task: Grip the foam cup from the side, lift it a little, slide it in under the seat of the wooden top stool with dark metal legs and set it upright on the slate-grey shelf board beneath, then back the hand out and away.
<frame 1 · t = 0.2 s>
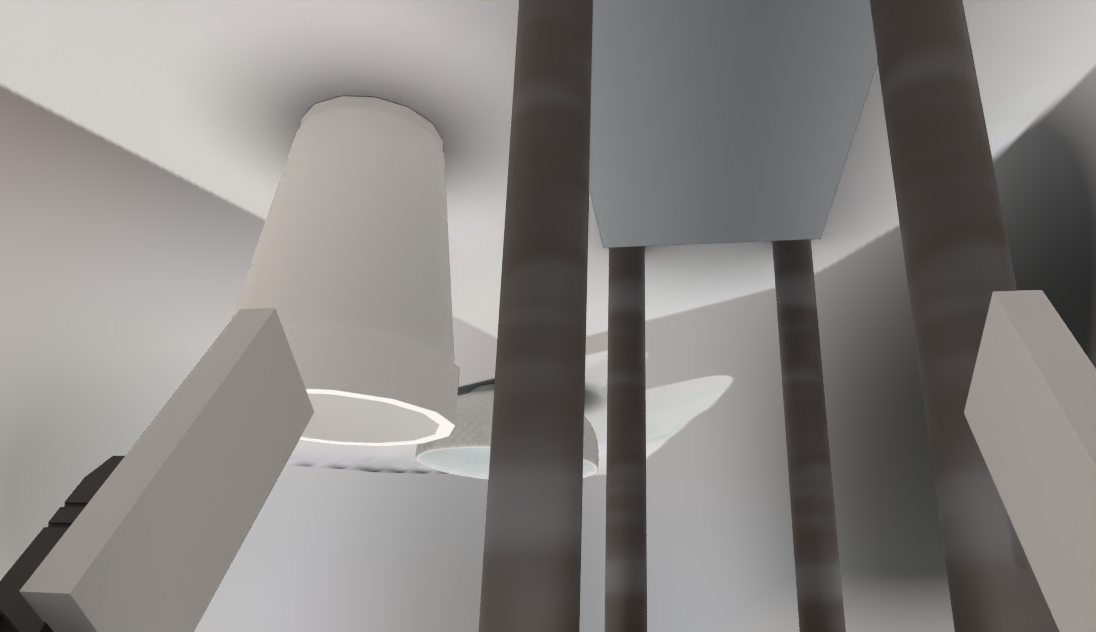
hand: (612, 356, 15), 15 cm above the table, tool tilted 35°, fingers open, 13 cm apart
cereal bowl: (511, 391, 76), on the table
wooden top stool: (711, 116, 33), on the table
foam cup: (373, 135, 36), on the table
shelf board: (711, 116, 33), on the table
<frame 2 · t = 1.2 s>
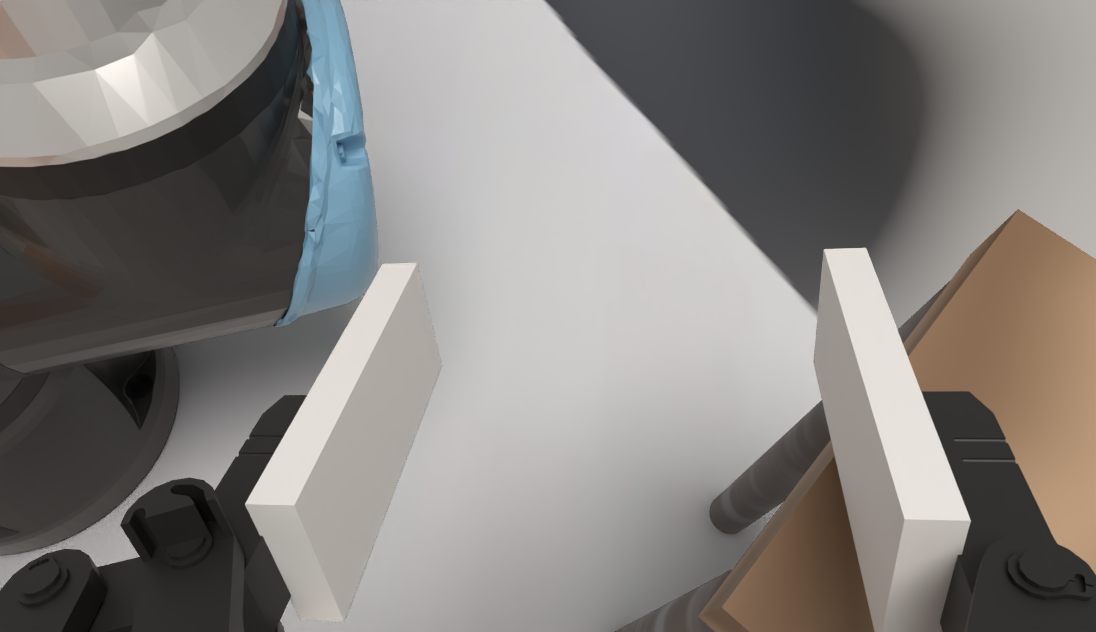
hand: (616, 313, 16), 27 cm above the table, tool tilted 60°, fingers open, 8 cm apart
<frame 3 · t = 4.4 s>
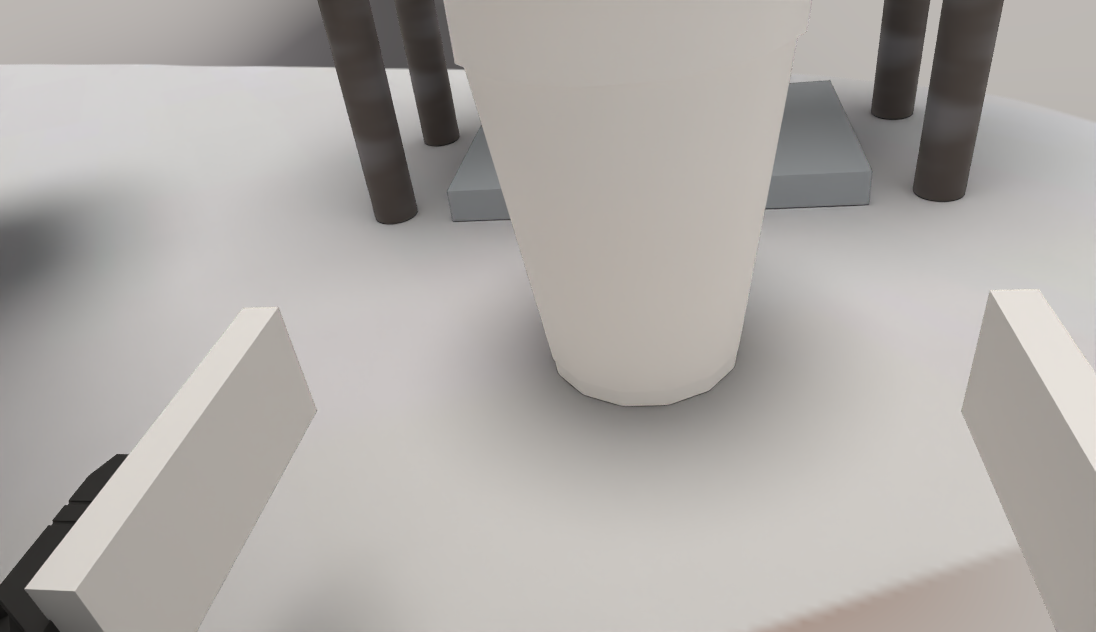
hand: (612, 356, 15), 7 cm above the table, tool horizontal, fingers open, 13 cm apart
wooden top stool: (654, 160, 39), on the table
foam cup: (644, 349, 27), on the table
shelf board: (654, 160, 39), on the table
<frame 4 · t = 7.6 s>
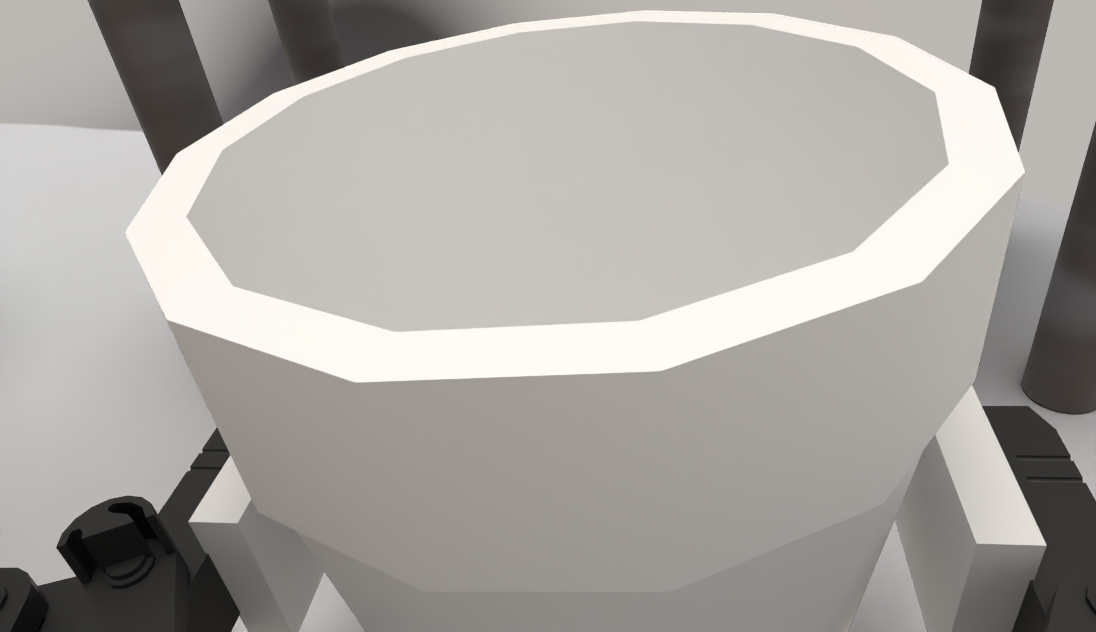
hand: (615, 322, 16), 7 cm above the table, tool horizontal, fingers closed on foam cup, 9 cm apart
wooden top stool: (646, 310, 29), on the table
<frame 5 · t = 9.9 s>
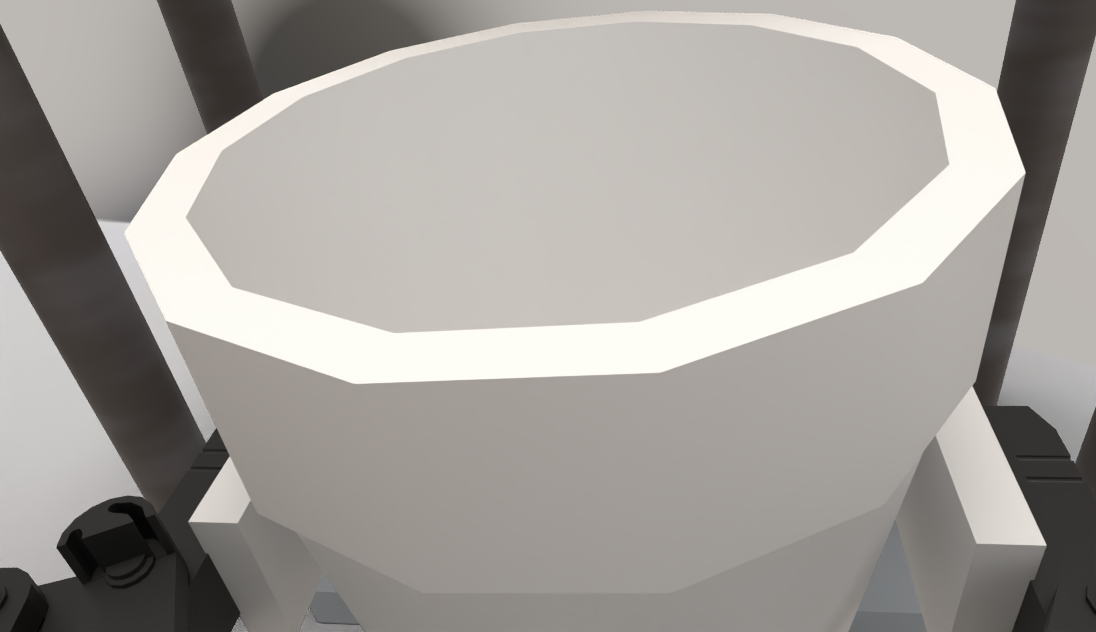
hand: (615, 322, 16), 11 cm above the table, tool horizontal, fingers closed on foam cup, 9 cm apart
wooden top stool: (624, 488, 27), on the table
shelf board: (624, 488, 27), on the table
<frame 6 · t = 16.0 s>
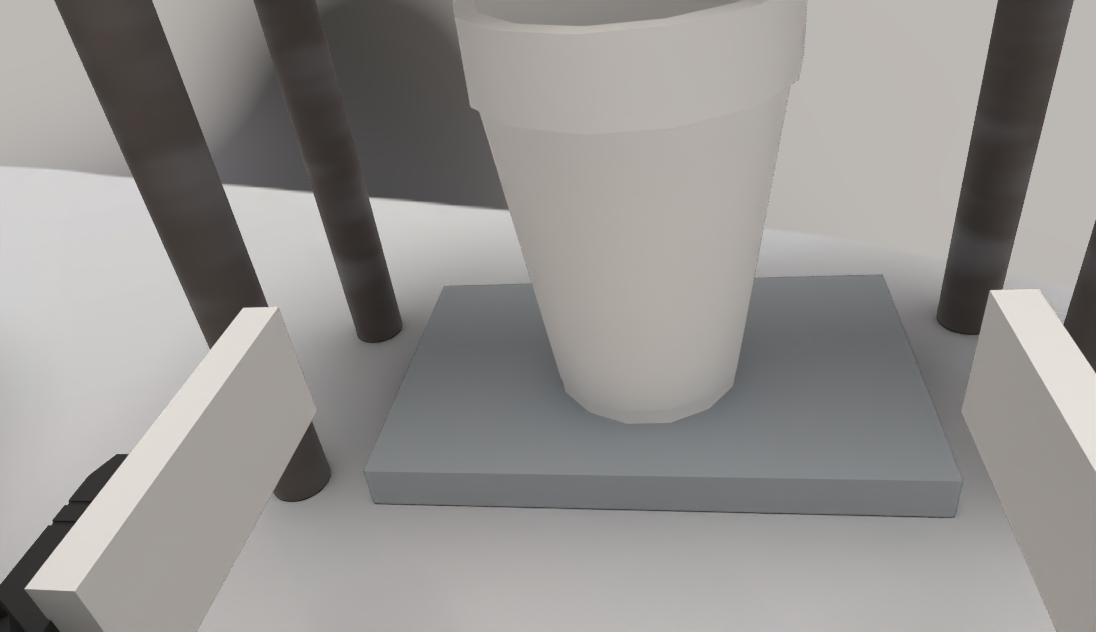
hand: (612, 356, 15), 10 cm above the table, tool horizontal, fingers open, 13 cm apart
wooden top stool: (650, 394, 29), on the table
foam cup: (647, 368, 29), point 1 cm above the table, touching shelf board
shelf board: (650, 394, 29), on the table
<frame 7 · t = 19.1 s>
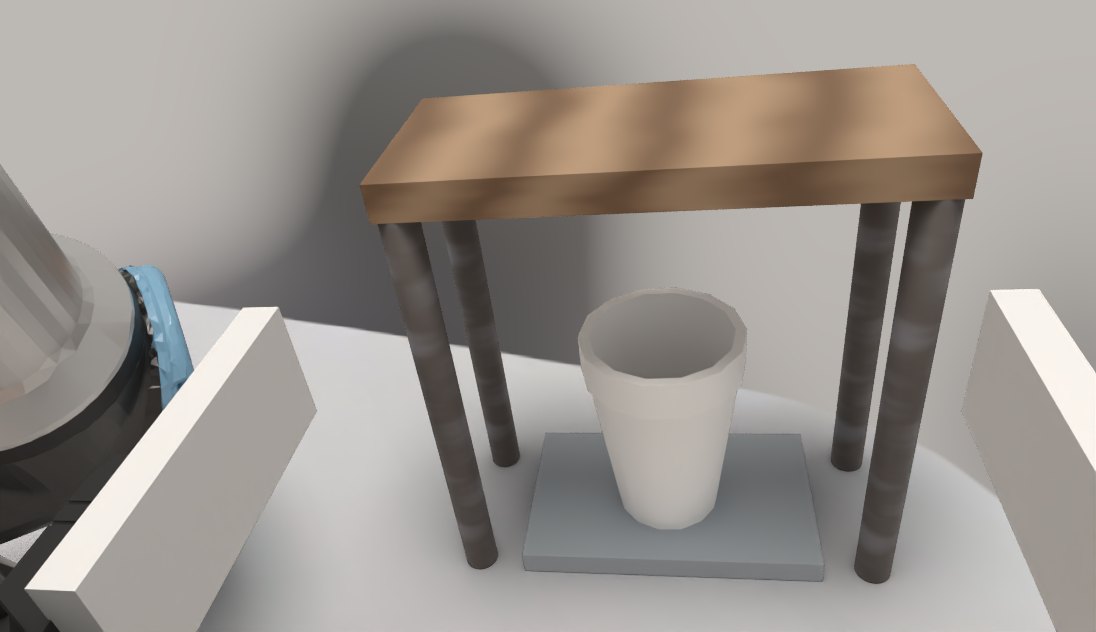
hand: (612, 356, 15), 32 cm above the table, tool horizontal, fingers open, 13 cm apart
wooden top stool: (669, 506, 53), on the table
foam cup: (668, 494, 52), point 1 cm above the table, touching shelf board
shelf board: (669, 506, 53), on the table
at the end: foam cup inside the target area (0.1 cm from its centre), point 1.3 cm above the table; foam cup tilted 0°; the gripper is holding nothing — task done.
